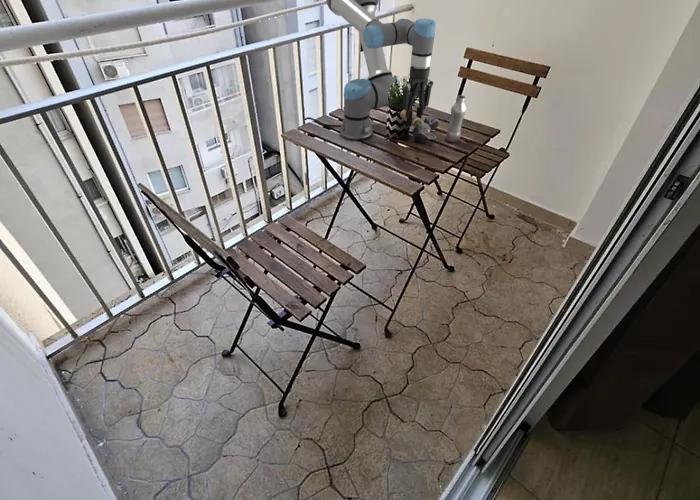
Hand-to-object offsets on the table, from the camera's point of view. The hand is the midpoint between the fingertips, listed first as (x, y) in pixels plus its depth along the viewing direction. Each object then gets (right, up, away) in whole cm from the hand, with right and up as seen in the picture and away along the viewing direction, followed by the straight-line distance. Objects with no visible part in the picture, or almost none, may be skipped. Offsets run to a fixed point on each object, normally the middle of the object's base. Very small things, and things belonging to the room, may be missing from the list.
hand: (413, 124), depth 164 cm
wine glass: (+12, +7, +20) cm, 24 cm away
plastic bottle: (+20, -3, +14) cm, 25 cm away
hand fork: (+2, -2, -2) cm, 3 cm away
